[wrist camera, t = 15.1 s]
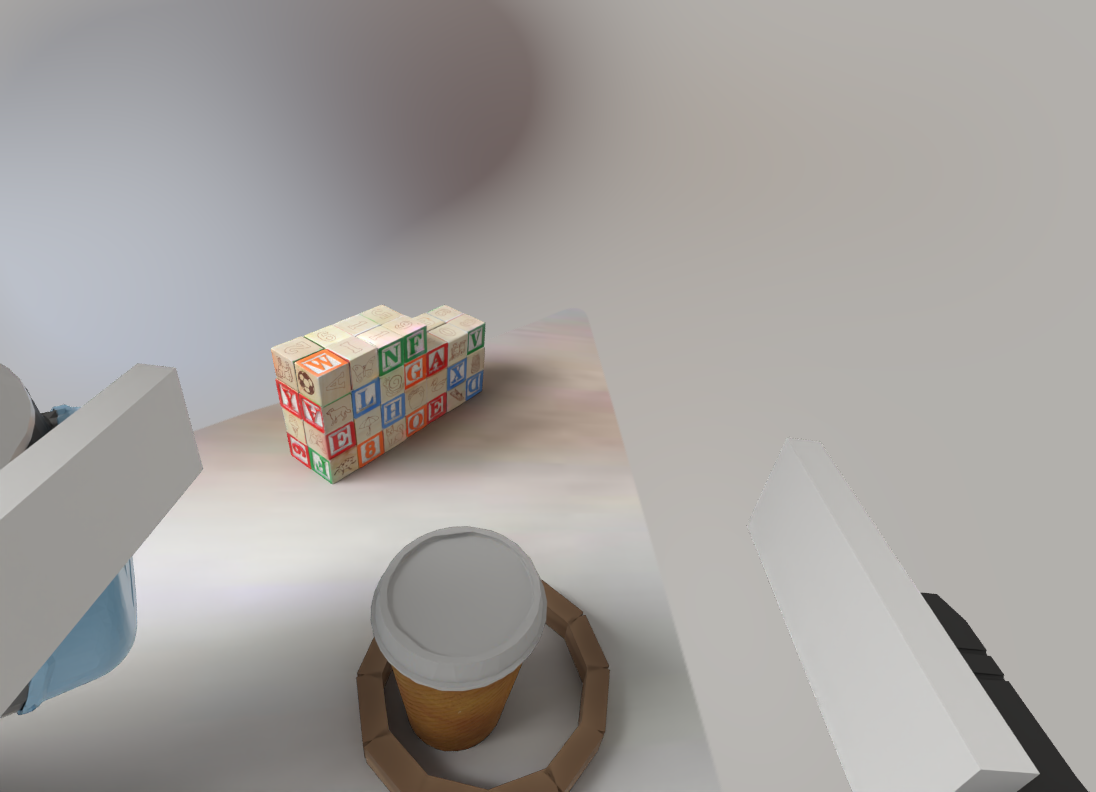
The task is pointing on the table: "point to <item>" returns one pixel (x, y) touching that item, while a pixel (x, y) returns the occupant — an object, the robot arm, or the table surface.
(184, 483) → the robot arm
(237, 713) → the table surface
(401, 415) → the stack of blocks
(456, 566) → the disposable coffee cup
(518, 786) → the walnut bead ring
